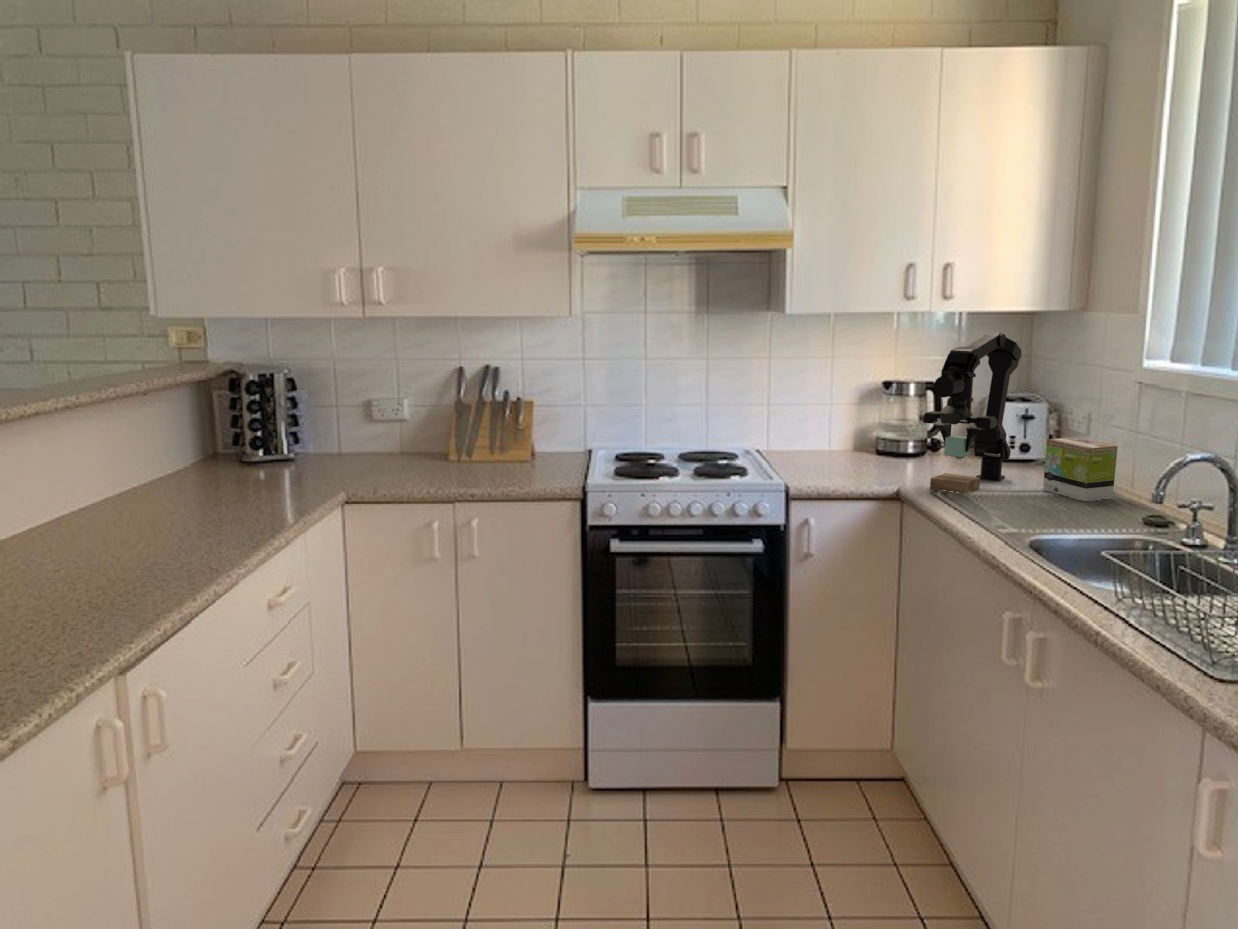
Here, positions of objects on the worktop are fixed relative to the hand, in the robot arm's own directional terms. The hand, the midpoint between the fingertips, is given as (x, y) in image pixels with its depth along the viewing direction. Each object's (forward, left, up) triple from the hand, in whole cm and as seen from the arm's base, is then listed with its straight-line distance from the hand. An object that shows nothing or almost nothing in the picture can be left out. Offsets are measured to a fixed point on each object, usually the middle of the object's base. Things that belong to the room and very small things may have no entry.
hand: (957, 450), depth 256 cm
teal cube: (0, 0, -1) cm, 1 cm away
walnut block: (0, 0, -11) cm, 11 cm away
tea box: (-14, +28, -11) cm, 33 cm away
